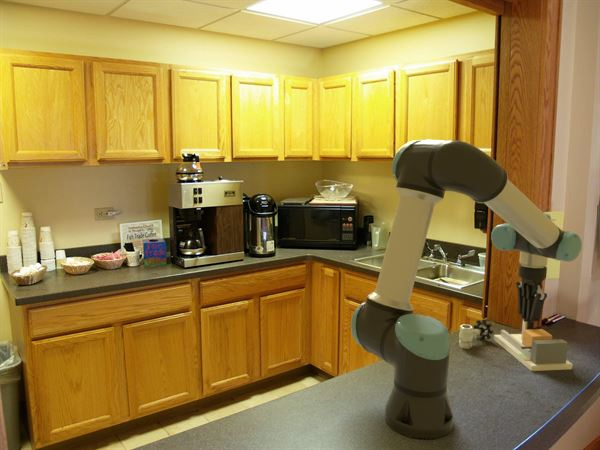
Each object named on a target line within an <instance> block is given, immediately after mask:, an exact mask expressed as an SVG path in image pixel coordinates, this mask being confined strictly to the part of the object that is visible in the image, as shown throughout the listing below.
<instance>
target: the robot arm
mask: <svg viewBox="0 0 600 450" xmlns="http://www.w3.org/2000/svg"><path fill="white" fill-rule="evenodd" d="M391 169H392V170H391V171H392V173H393V179H395V181H396V186H395V191H396V192H397V194H398V197H399V199H398V202H397V207H396V210H395V213H394V214H395V215H394V218H393V222H392V225H391V229H390V233H389V237H388V241H387V245H386V249H385V253H384V255H383V256H384V257H383V260H382V262H381V266H380V271H379V275H378V279H377V283H376V285H375V289H374V291H372V292H371V293H369V294H368V295H367V296H366V299H365V301H363V302H362V303H361V304H360V305H359V307H356V309H355V310H354V311H353V314H352V317H351V321H350V329H351V331H350V332H351V335H352V338H353V339H354V341H355V342H356V343H357V345H359V346H360V347H362V349H363V350H365V351H366V352H367V353H370V354H372V355H373V356H376V357H377V358H379V359H380V360H382V361H383V362H386V363H388V364H389V365H390V366H392V367H393V368H394V371H393V373H394V374H393V386H392V389H391V390H390V394H389V396H388V399H387V401H386V404H385V406H384V420H385V422H386V423H388V424H387V425H388V426H389V427H390V428H391V429H392V428H393V429H392V430H394V431H395V432H397V433H399V434H401V435H404V436H406V437H409V436H411V437H410V438H413V437H415V438H414V439H418V438H423V439H422V440H433V439H432V438H435V439H439V437H440V438H442V436H443V437H444V436H447V435H448V434H450V432H451V431H452V430H453V429H454V428H453V427H454V411H453V409H452V406H451V403H450V399H449V396H448V390H447V388H448V378H449V364H450V362H449V361H450V352H451V351H450V350H451V343H450V332H449V330H448V328H447V326H446V325H445V324H444V323H443V322H442V321H440V320H438V319H436V318H434V317H431V316H428V315H422V314H420V313H414V310H415V309H414V307H413V304H412V303H411V301H410V300H411V296H412V293H413V288H414V285H415V281H416V277H417V274H418V270H419V266H420V262H421V258H422V255H423V251H424V247H425V243H426V240H427V235H428V232H429V228H430V224H431V221H432V216H433V214H434V211H435V210H434V209H435V207H436V205H437V204H440V203H441V202H442V201H444V197H445V193H446V192H453V193H458V194H462V195H464V196H467V197H469V198H470V199H471V200H473V201H474V202H475V203H478V204H484V205H485V206H487V208H489V209H491V211H492V212H493V213H494V214H496V215H497V216H498V217H500V218H501V219H502V220H503V221H504V222H505V223H501V224H497V225H496V226H494V227H493V229H492V231H491V237H490V240H491V244H492V245H493V247H495V249H496V250H497V251H498V250H499V251H501V252H506V251H507V252H509V251H518V252H519V265H518V273H517V275H518V277H519V278H521V281H516V282H515V283H516V284H515V285H516V288H517V304H518V305H517V306H518V307H517V308H518V311H517V312H518V315H521V318H522V324H521V325H522V326H521V334H522V336H521V340H522V338H523V330H534V329H535V328H534V327H535V322H540V319H541V316H542V312H543V308H544V304H545V301H546V299H547V297H548V294H547V292H543V286H542V285H543V284H542V282H543V281H545V280H546V278H547V272H548V268H547V266H548V261H549V259H552V260H556V261H563V262H567V263H569V262H573V261H575V260H576V259H577V258H578V257H579V255H580V253H581V251H582V239H581V237H580V236H579V234H577V233H575V232H570V231H569V230H568V231H564V230H563V229H561V228H560V227H559V226H558V225H557V224H556V223H554V221H553V220H552V217H551V215H550V214H549V213H546V212H545V213H544V212H543V211H542V210H541V209H540V208H539V207H538V206H537V205H536V204H535V203H533V202H532V200H530V199H529V198H528V197H527V196H526V195H525V194H524V193H523V192H522V190H520V189H519V188H518V187H517V186H516V185H515V184H514V183H513V182H512V181H510V180H509V175H508V171H507V170H506V169H505V168H504V167H503V166H502V165H501V164H499V163H498V162H497V161H496V160H495V159H494V158H492V157H491V156H490V155H489V154H487V153H486V152H485V151H483V150H481V149H480V148H478V147H476V146H474V145H473V144H471V143H468V142H465V141H462V140H453V139H451V140H448V139H447V140H445V139H443V140H441V139H418V140H417V139H416V140H410V141H408V142H407V143H405V144H403V145H402V146H400V148H399V149H398V150H397V151H396V153H395V156H394V158H393V160H392V165H391ZM424 438H425V439H424ZM428 438H429V439H428Z"/></svg>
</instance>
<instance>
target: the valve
mask: <svg viewBox="0 0 600 450" xmlns="http://www.w3.org/2000/svg"><path fill="white" fill-rule="evenodd" d="M475 323H476V324H475V325H474V326H472V325H471V324H465V323H463V324H461V325H459V333H458V338H459V340H458V346H459V347H460V348H462V349H466V350H468V349H471V347H473V341H474V339H477V338H478V336H479V337H480V340H482V339H483V340H485V339H486V340H490V339H491V338H492V336H491V335H493V334H494V330H493V329H491V328H492V326H493V325H492V323H487V320H486V319H485V318H484V319H482V320H480V319H478V320H476V322H475ZM482 325H483V326H482ZM485 333H486V334H485Z"/></svg>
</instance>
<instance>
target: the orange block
mask: <svg viewBox="0 0 600 450" xmlns="http://www.w3.org/2000/svg"><path fill="white" fill-rule="evenodd" d="M534 340H553V335H552V334H550V333H549V332H547V331H546V330H544V329H543V328H539V329H538V328H537V329H535V328H534V330H523V338H522V344H523V345H524V346H521V349H530V350H531V349H532V341H534Z"/></svg>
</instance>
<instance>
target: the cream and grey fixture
mask: <svg viewBox="0 0 600 450" xmlns="http://www.w3.org/2000/svg"><path fill="white" fill-rule="evenodd" d="M521 336H522V333H513V334H512V333H511V334H510V333H509V332H508V331H507V330H505V329H500V334H494V335H493V340H494V341H495V342H496V343H498V344H499V345H500V346H501V347H502V348H503V349H505V350H506V351H507V353H509V354H511V355H512V356H513V357H514V358H515V359H516V360H517V361H519V362H520V363H521V364H522V365H524V366H525V368H527V369H528V370H530V371H531V372H537V371H539V372H541V371H561V370H562V371H565V370H573V365H574V364H573V363H572V362H570V360H568V359H567V355H568V347H569V346H568V345H569V342H567V341H566V340H564V339H561V338H560V339H552V340H534V341H532V349H531V350H530V349H521V346H524V345H523V344H522V340H521Z"/></svg>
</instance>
